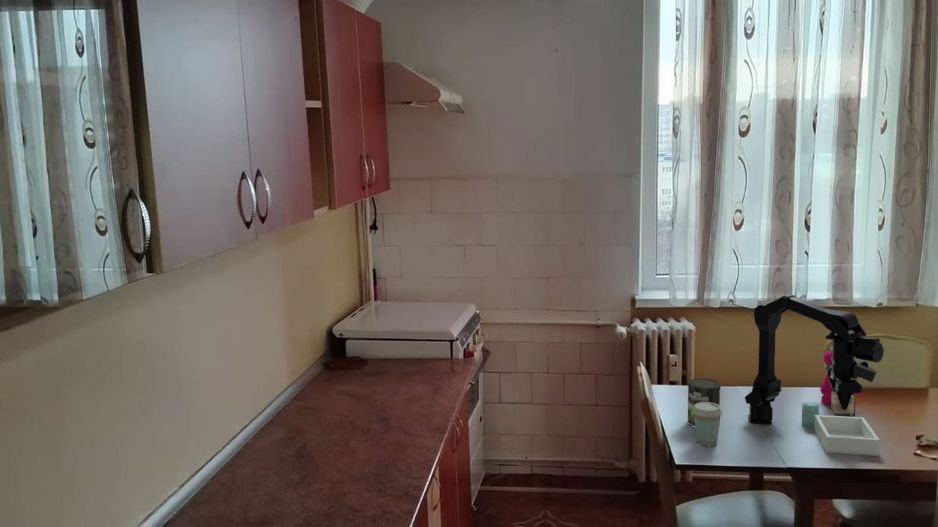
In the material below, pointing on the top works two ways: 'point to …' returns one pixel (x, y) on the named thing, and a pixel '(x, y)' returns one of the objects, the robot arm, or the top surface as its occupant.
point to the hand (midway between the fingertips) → (842, 406)
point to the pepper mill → (826, 386)
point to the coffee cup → (707, 423)
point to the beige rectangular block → (837, 406)
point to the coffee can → (702, 394)
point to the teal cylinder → (809, 413)
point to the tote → (846, 435)
